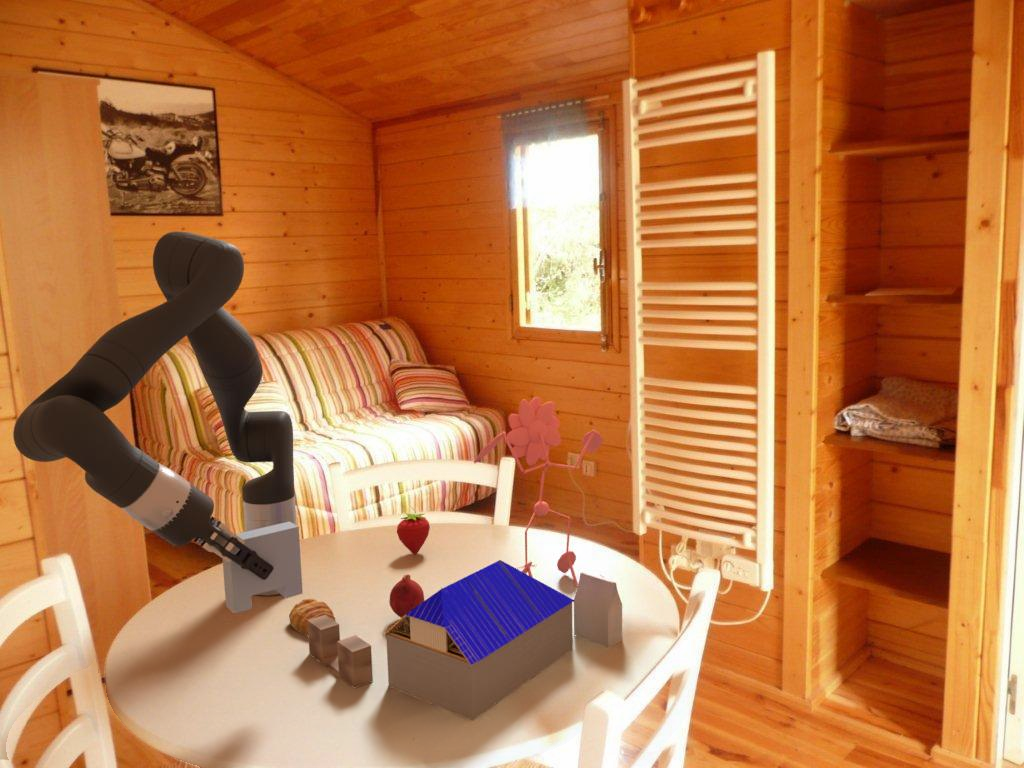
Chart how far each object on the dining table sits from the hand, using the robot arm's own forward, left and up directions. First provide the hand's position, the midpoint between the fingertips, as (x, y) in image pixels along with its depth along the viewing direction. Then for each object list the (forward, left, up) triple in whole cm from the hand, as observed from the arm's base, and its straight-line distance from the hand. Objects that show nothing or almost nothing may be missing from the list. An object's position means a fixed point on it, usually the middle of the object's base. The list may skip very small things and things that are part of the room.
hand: (263, 569), depth 118 cm
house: (+24, +19, -18) cm, 36 cm away
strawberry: (-14, +53, -18) cm, 58 cm away
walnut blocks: (+5, +9, -18) cm, 20 cm away
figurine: (+15, +52, -18) cm, 57 cm away
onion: (+4, +27, -18) cm, 33 cm away
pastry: (-9, +18, -18) cm, 27 cm away
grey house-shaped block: (+35, +36, -18) cm, 53 cm away
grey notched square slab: (0, 0, -4) cm, 4 cm away
